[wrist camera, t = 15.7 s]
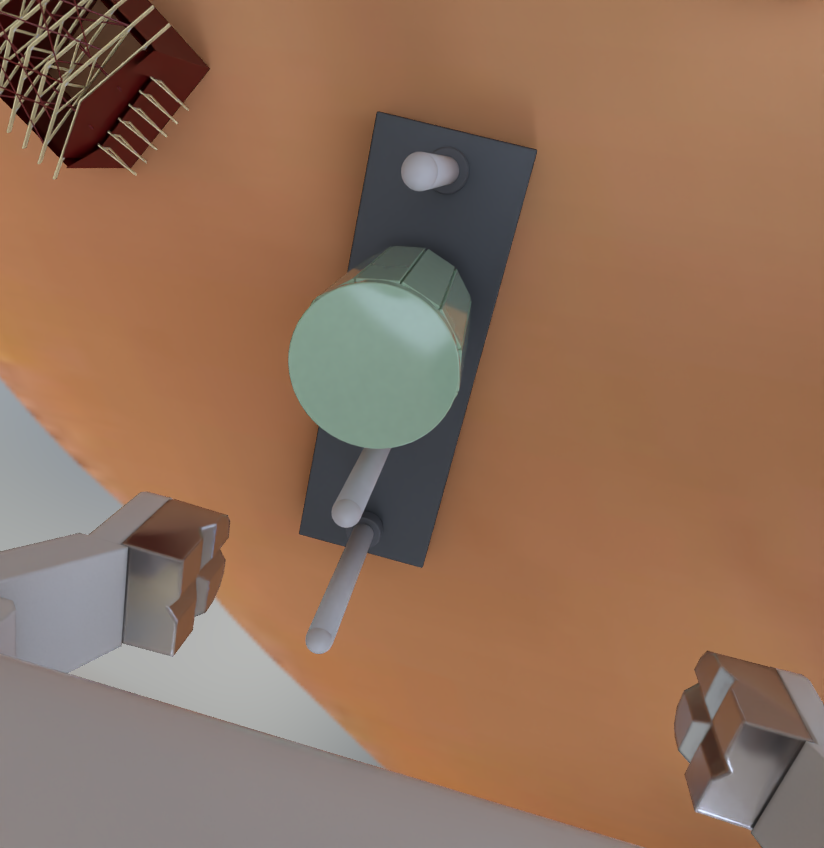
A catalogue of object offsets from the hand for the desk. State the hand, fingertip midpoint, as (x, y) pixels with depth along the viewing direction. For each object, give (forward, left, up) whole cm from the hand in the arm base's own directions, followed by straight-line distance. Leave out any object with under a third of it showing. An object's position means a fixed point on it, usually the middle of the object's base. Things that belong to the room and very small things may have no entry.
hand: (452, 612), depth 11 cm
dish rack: (0, +5, -25) cm, 25 cm away
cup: (+2, +3, -21) cm, 22 cm away
